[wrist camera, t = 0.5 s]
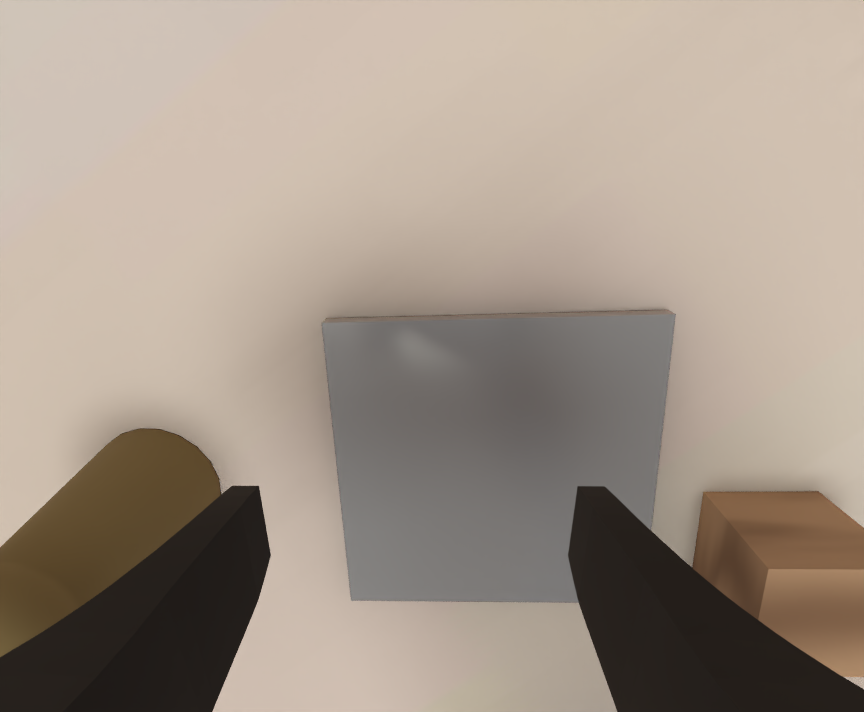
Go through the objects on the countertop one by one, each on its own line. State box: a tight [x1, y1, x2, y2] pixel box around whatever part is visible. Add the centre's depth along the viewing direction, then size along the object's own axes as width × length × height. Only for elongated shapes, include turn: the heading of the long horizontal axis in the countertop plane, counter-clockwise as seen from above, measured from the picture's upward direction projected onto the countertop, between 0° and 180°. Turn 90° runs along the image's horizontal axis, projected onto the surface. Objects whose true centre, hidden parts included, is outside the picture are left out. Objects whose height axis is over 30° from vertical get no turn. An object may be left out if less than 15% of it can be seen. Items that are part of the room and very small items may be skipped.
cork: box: [0, 429, 221, 657], centre depth 18 cm, size 6×6×11 cm
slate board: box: [322, 310, 676, 603], centre depth 22 cm, size 14×14×1 cm
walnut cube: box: [692, 491, 864, 677], centre depth 21 cm, size 5×5×5 cm
